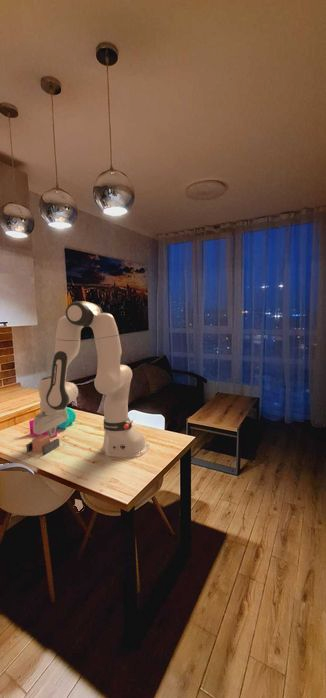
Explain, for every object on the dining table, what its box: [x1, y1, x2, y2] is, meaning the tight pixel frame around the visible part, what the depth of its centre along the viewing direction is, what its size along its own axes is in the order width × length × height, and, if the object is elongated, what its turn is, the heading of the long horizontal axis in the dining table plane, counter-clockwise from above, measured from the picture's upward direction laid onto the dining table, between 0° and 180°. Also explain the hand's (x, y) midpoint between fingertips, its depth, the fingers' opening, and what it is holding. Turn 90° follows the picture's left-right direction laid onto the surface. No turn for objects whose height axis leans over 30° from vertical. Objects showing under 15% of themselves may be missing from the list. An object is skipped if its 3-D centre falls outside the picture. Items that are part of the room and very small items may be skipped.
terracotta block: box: [31, 435, 51, 454], centre depth 138 cm, size 5×6×6 cm
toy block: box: [28, 418, 58, 440], centre depth 156 cm, size 15×6×8 cm, turn 54°
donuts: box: [57, 406, 77, 430], centre depth 167 cm, size 10×10×10 cm
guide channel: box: [25, 438, 60, 456], centre depth 140 cm, size 10×10×4 cm
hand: (51, 436), depth 145 cm, fingers closed
